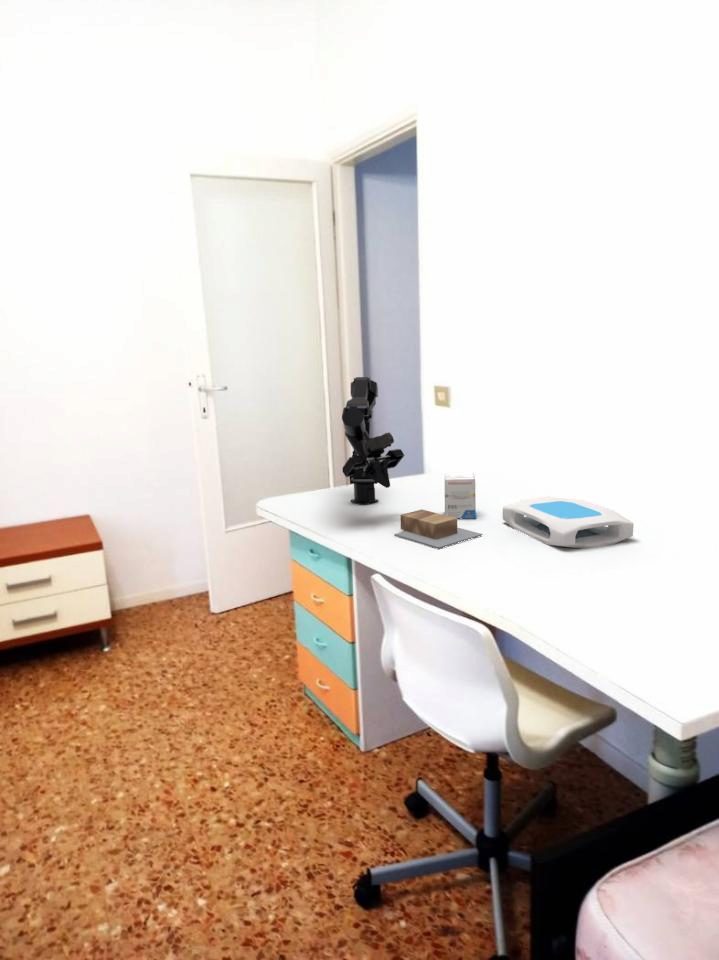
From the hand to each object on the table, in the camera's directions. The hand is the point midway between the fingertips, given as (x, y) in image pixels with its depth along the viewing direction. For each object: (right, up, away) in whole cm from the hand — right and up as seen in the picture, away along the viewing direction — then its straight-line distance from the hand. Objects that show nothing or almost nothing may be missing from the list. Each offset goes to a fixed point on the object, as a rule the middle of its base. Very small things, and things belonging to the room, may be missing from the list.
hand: (388, 486), depth 188 cm
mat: (+13, -13, -9) cm, 20 cm away
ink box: (+21, -9, +11) cm, 25 cm away
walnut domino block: (+6, -9, -2) cm, 11 cm away
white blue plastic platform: (+45, -12, -8) cm, 48 cm away
